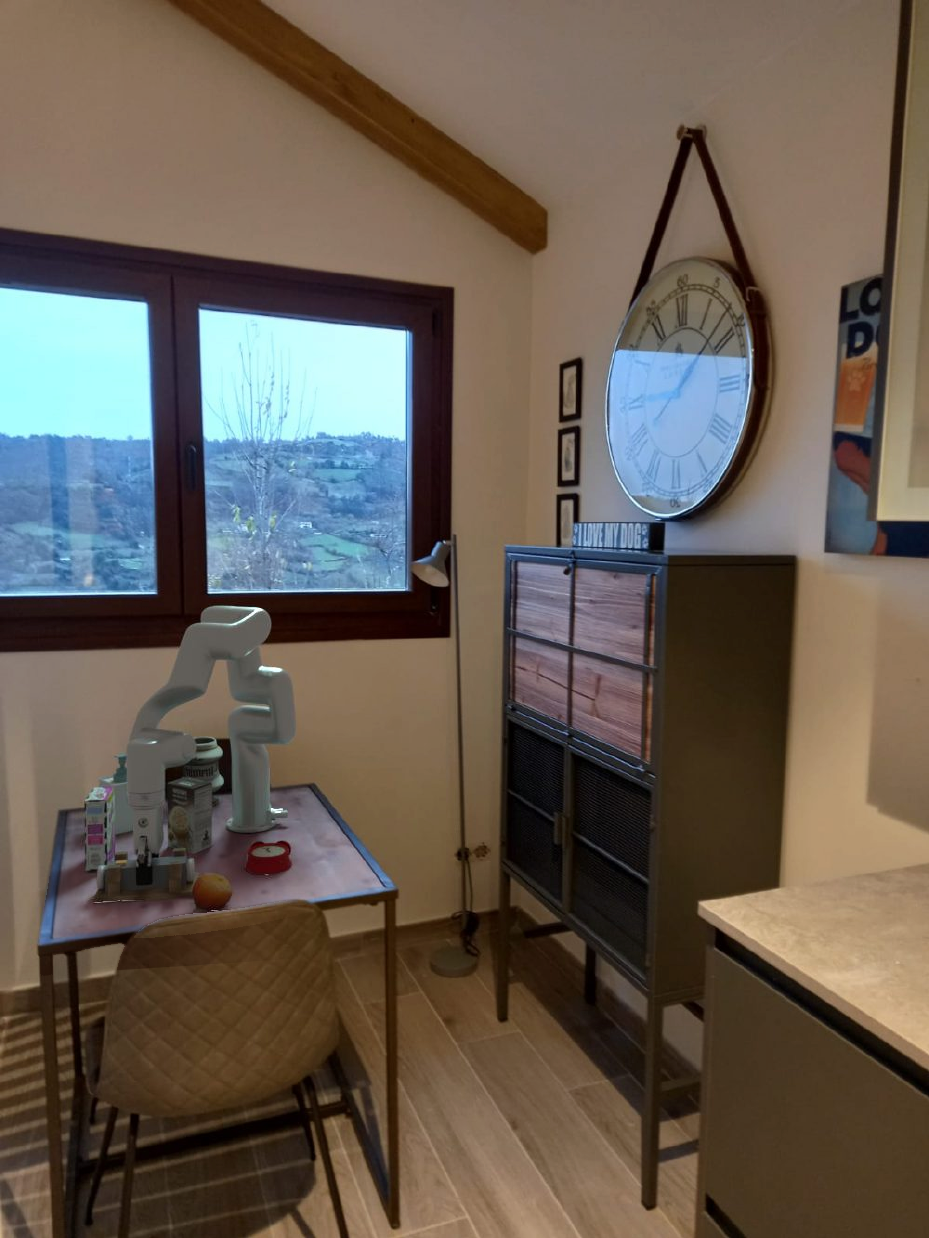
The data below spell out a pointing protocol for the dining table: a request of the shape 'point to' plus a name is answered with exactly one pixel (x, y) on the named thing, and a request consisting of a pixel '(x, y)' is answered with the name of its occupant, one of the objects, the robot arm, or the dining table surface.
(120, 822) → the soap bottle
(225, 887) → the fruit
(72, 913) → the dining table surface
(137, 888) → the power strip
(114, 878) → the rack
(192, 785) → the coffee box
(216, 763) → the apothecary jar
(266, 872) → the alarm clock
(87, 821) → the candy bar box
